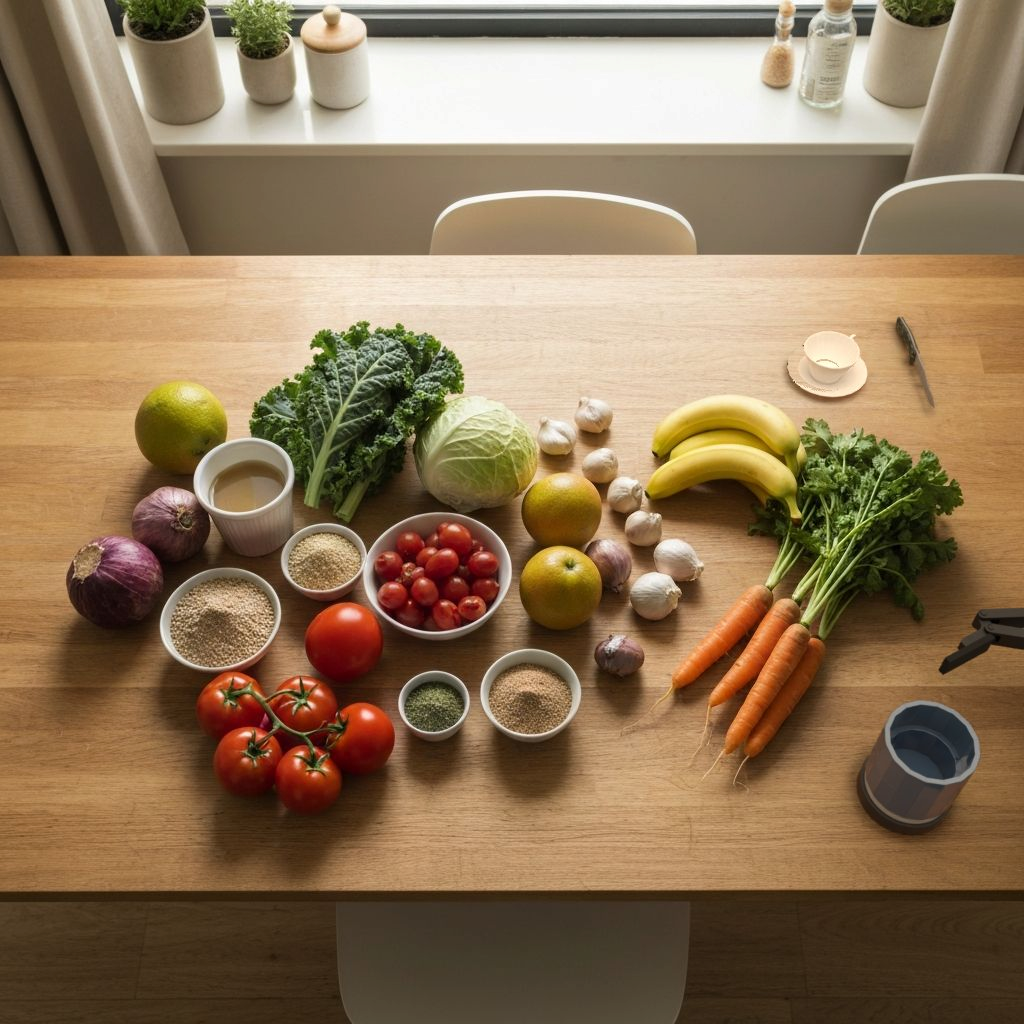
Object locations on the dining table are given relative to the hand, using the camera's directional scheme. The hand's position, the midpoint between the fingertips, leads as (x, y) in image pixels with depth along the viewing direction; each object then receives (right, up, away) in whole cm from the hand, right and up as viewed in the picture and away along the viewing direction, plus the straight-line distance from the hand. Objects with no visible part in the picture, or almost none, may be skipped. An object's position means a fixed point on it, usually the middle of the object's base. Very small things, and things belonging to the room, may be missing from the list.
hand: (987, 714), depth 115 cm
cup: (-7, -8, +4) cm, 12 cm away
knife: (+10, +43, +49) cm, 67 cm away
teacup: (-3, +42, +49) cm, 65 cm away
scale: (-7, -10, +7) cm, 14 cm away
